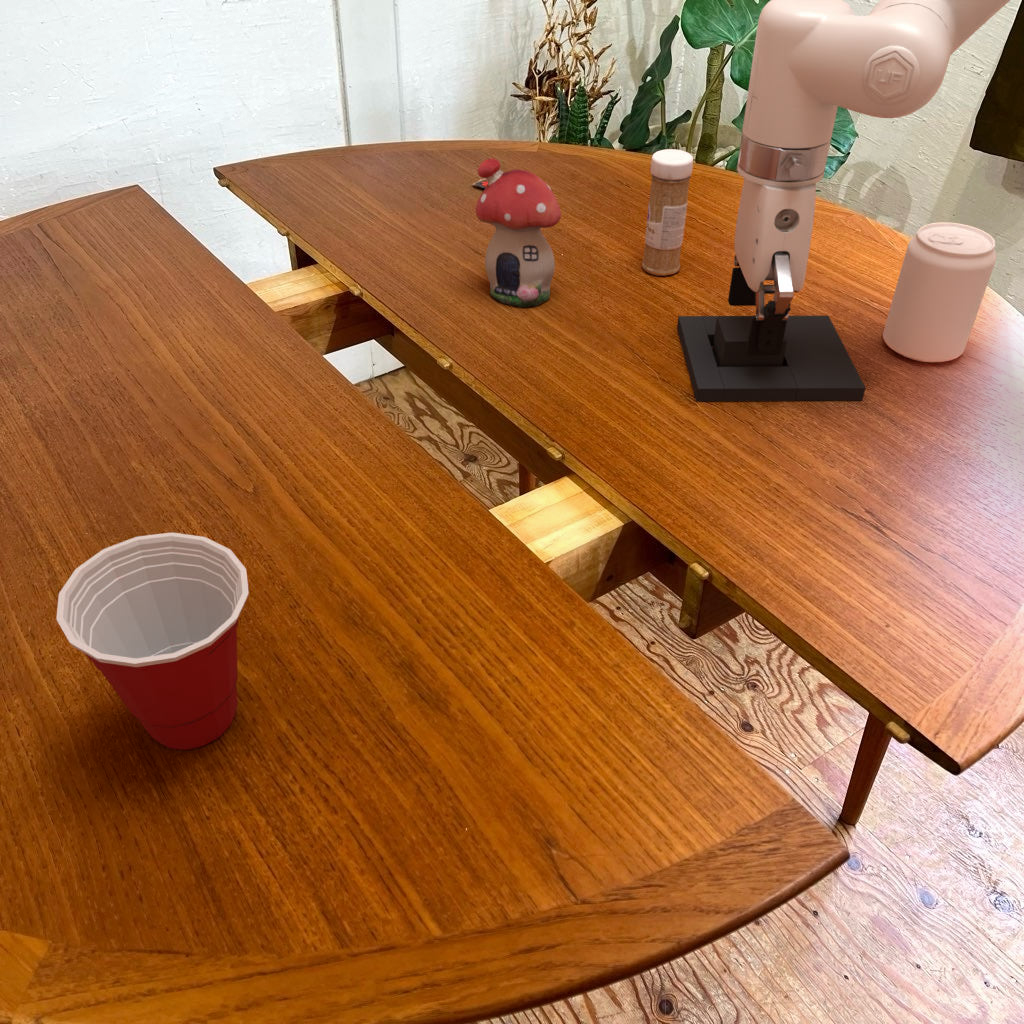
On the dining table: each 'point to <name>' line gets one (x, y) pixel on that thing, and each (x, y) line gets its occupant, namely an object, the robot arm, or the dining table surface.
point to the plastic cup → (162, 631)
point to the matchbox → (481, 183)
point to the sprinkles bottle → (667, 211)
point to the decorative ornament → (517, 234)
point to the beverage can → (939, 291)
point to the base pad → (803, 376)
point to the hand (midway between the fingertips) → (752, 328)
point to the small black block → (739, 344)
